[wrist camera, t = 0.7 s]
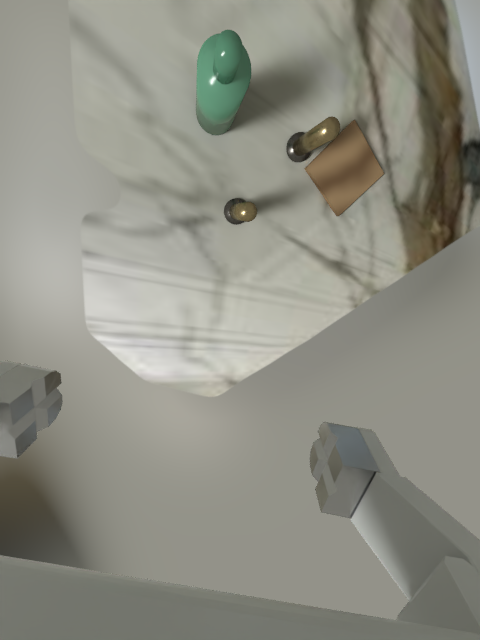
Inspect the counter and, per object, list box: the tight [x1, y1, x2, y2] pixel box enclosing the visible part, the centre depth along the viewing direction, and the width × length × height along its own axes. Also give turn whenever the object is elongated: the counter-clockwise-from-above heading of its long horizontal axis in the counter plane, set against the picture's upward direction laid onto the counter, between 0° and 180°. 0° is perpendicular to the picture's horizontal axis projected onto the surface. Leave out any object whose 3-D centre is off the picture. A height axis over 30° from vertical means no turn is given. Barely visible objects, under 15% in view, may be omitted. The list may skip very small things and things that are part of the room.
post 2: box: [287, 117, 340, 162], centre depth 38 cm, size 4×4×11 cm
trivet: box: [305, 120, 384, 216], centre depth 45 cm, size 10×10×1 cm
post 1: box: [224, 199, 257, 224], centre depth 40 cm, size 4×4×11 cm
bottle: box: [196, 30, 251, 135], centre depth 31 cm, size 6×6×17 cm
